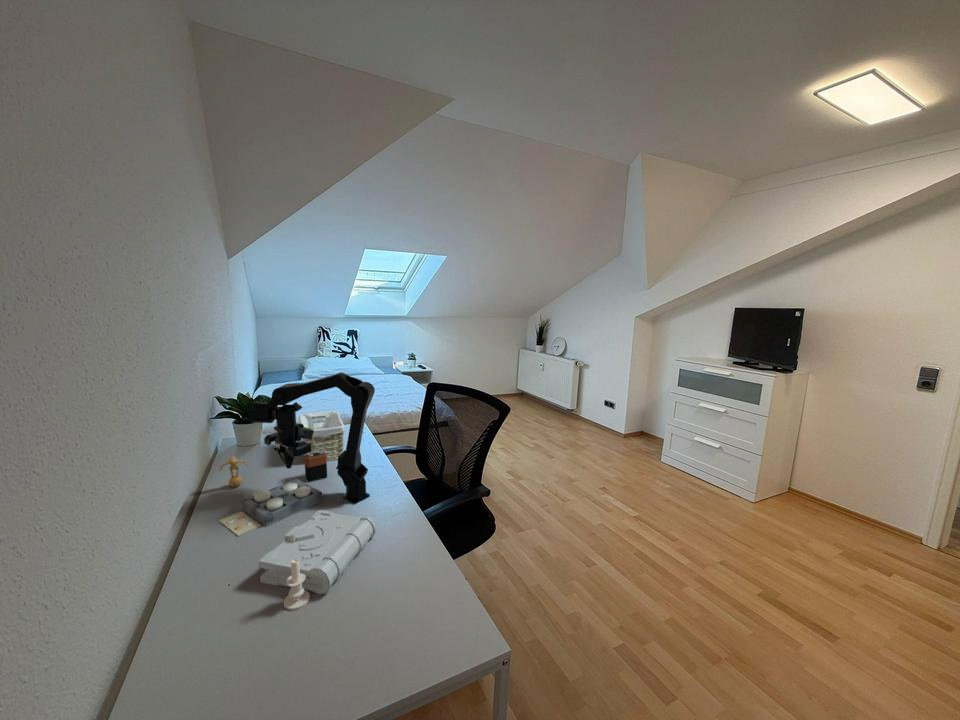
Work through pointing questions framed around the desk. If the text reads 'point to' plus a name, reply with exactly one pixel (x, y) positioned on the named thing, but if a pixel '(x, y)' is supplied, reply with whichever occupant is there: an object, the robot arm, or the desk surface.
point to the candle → (296, 589)
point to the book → (318, 550)
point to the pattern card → (239, 523)
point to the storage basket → (325, 433)
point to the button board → (289, 504)
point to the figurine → (236, 479)
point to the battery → (315, 466)
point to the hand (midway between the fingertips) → (288, 468)
